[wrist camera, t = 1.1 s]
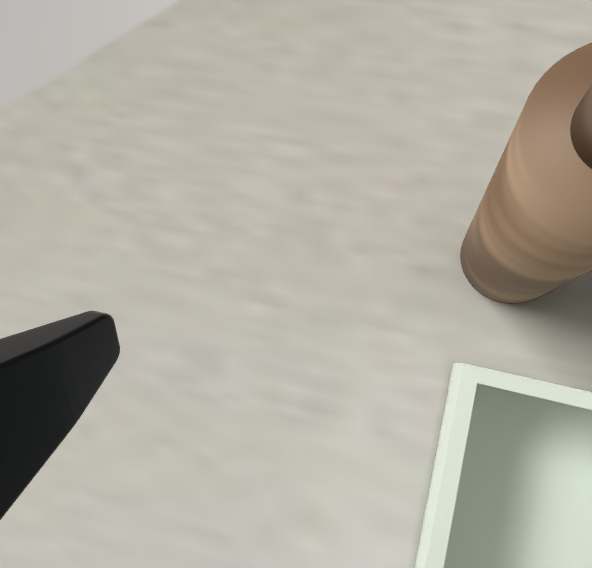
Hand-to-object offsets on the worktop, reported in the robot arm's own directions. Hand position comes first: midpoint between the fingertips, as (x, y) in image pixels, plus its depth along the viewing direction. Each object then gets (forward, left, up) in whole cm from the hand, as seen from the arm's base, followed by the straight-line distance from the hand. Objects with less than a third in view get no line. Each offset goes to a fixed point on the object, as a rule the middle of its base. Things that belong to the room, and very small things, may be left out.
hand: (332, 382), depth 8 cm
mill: (+6, -5, -14) cm, 16 cm away
